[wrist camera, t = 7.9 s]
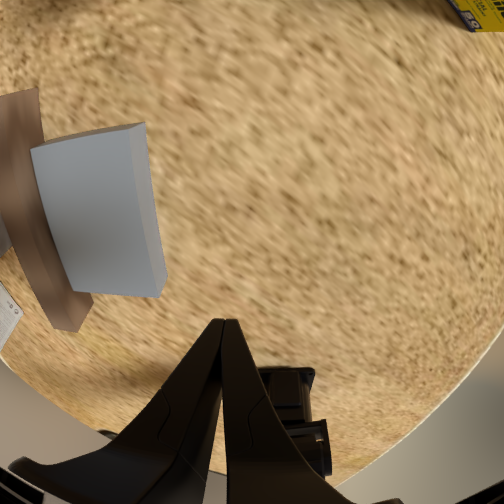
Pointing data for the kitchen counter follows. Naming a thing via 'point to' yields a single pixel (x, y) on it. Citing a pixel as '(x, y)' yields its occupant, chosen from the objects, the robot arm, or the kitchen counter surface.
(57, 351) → the kitchen counter surface
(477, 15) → the supplement box
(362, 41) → the kitchen counter surface
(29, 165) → the walnut bar
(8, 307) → the skincare box
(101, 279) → the slate plate
